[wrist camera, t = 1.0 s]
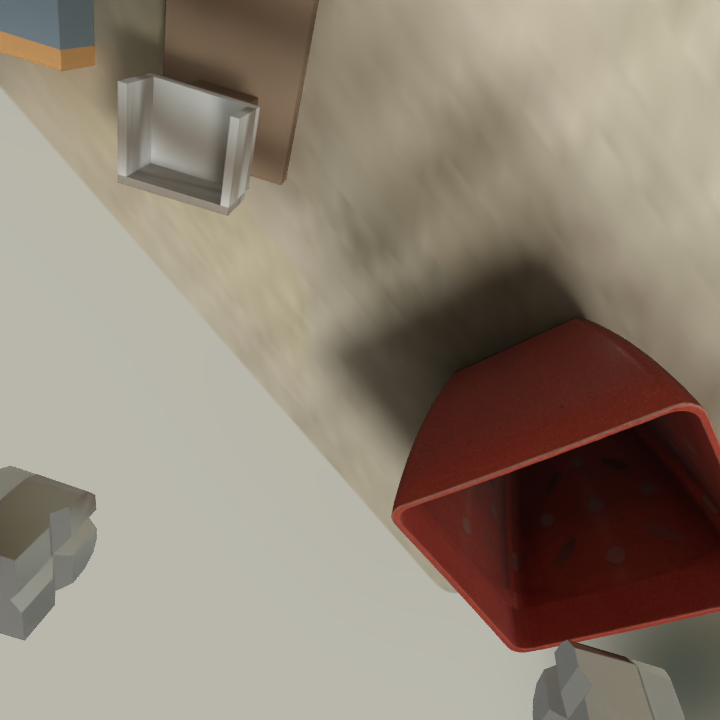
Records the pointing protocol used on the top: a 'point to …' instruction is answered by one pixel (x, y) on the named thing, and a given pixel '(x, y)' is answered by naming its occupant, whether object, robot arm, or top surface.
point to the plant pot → (568, 490)
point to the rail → (49, 32)
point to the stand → (217, 101)
